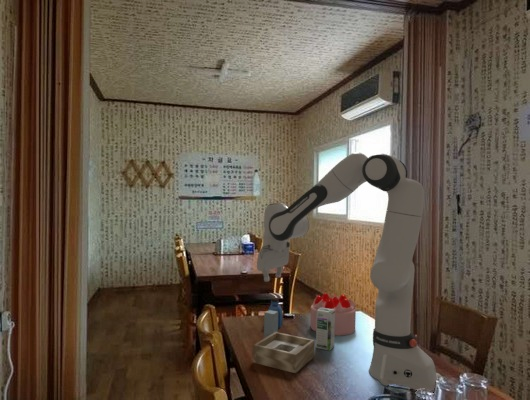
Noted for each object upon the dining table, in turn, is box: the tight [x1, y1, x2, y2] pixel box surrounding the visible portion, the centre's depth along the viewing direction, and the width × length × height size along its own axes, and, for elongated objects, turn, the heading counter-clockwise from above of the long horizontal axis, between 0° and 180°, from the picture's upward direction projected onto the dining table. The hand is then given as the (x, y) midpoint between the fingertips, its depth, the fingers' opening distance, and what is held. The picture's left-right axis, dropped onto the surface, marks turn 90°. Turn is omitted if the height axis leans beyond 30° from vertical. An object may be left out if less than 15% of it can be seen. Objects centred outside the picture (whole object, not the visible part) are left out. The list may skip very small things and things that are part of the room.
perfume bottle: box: [267, 297, 284, 329], centre depth 175 cm, size 6×6×12 cm
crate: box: [252, 331, 316, 374], centre depth 137 cm, size 16×16×6 cm
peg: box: [263, 310, 279, 339], centre depth 154 cm, size 4×4×12 cm
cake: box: [309, 292, 357, 337], centre depth 172 cm, size 20×20×14 cm
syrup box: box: [315, 308, 335, 352], centre depth 150 cm, size 6×6×14 cm
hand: (272, 279), depth 153 cm, fingers open, 8 cm apart
